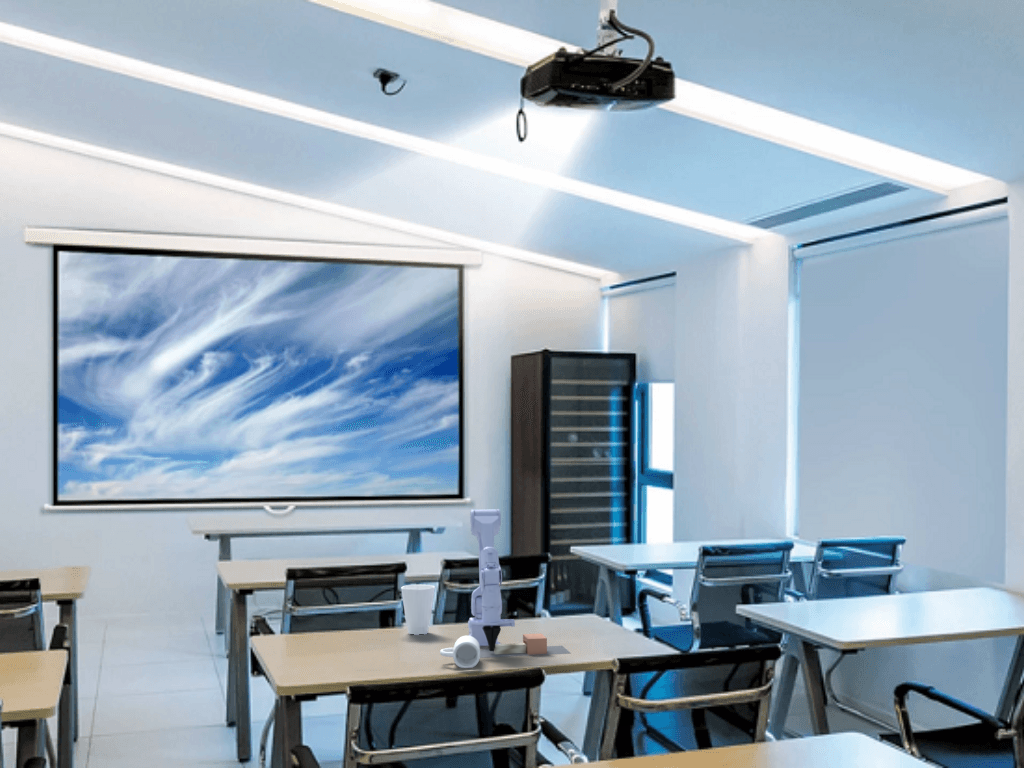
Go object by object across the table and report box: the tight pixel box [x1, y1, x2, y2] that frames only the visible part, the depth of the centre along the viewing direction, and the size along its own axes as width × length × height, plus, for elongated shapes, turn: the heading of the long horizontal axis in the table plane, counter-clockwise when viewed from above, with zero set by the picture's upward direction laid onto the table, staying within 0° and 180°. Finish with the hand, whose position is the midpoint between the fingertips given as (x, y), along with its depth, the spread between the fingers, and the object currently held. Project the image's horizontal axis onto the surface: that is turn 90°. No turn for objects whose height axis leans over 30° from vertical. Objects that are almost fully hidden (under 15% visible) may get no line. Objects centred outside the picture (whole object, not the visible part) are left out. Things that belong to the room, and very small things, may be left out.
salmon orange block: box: [522, 633, 548, 656], centre depth 332 cm, size 6×8×5 cm
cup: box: [400, 583, 436, 636], centre depth 366 cm, size 12×12×16 cm
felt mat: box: [480, 645, 571, 659], centre depth 331 cm, size 32×12×1 cm, turn 101°
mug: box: [439, 635, 481, 669], centre depth 315 cm, size 12×10×8 cm
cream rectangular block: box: [494, 642, 527, 654], centre depth 330 cm, size 12×3×3 cm, turn 101°
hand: (491, 650), depth 329 cm, fingers closed
